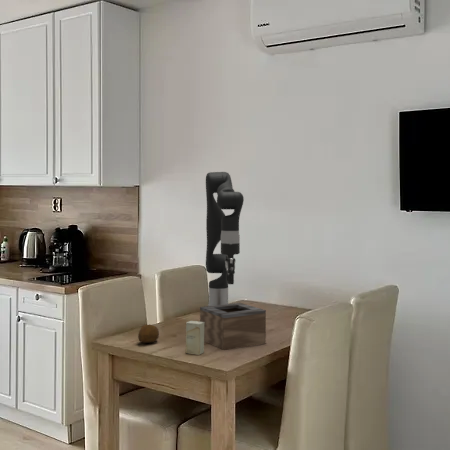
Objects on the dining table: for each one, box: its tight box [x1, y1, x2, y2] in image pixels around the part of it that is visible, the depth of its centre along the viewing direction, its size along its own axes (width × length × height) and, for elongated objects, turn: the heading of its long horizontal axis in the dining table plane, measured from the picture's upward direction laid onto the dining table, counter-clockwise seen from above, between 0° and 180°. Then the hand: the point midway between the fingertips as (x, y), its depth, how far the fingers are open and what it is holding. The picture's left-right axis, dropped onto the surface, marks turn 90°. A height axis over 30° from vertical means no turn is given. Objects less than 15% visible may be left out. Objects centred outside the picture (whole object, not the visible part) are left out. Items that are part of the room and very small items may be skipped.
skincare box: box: [185, 320, 205, 356], centre depth 244 cm, size 6×4×12 cm
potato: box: [137, 324, 160, 344], centre depth 260 cm, size 8×12×8 cm, turn 170°
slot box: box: [199, 302, 267, 351], centre depth 262 cm, size 20×20×14 cm
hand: (230, 282), depth 249 cm, fingers open, 8 cm apart
